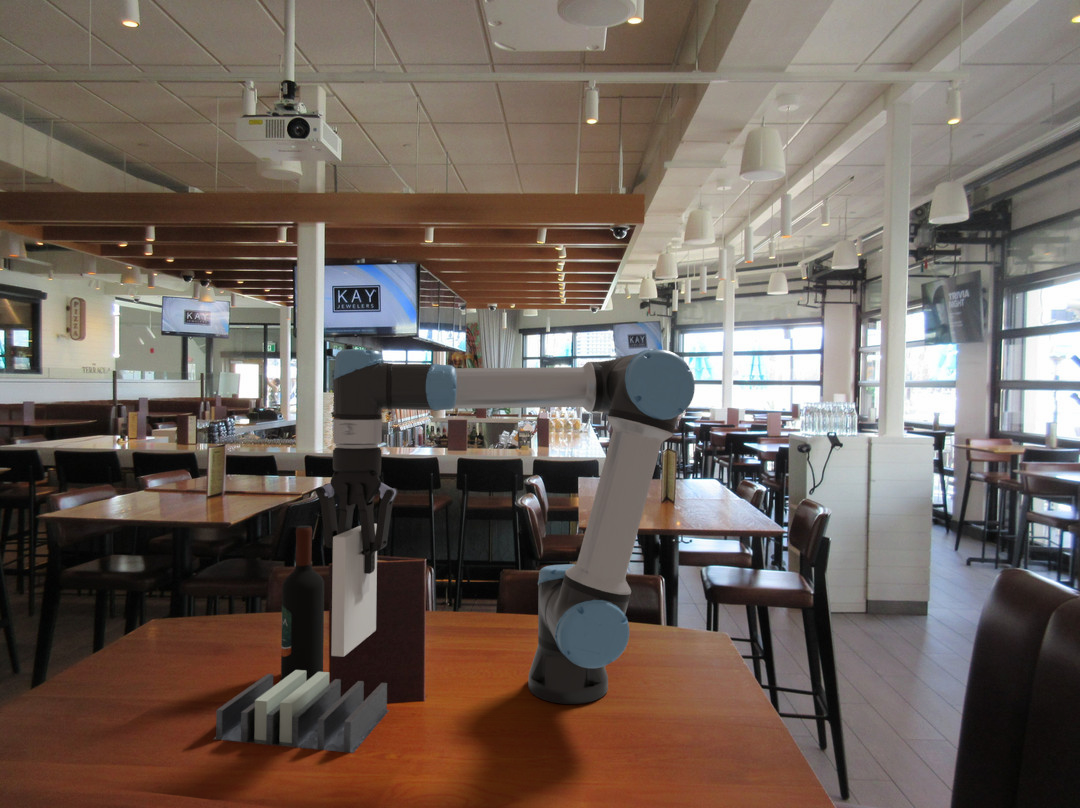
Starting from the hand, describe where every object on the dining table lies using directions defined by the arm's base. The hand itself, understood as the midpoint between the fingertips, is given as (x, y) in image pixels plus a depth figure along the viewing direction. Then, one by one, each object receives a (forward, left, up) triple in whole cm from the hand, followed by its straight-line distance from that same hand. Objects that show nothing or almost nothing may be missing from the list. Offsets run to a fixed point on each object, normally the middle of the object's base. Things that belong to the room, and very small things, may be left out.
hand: (355, 592), depth 105 cm
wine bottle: (+18, -17, -23) cm, 34 cm away
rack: (+8, 0, -23) cm, 25 cm away
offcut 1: (+13, 0, -22) cm, 25 cm away
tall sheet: (0, 0, -8) cm, 8 cm away
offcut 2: (+8, 0, -22) cm, 23 cm away
